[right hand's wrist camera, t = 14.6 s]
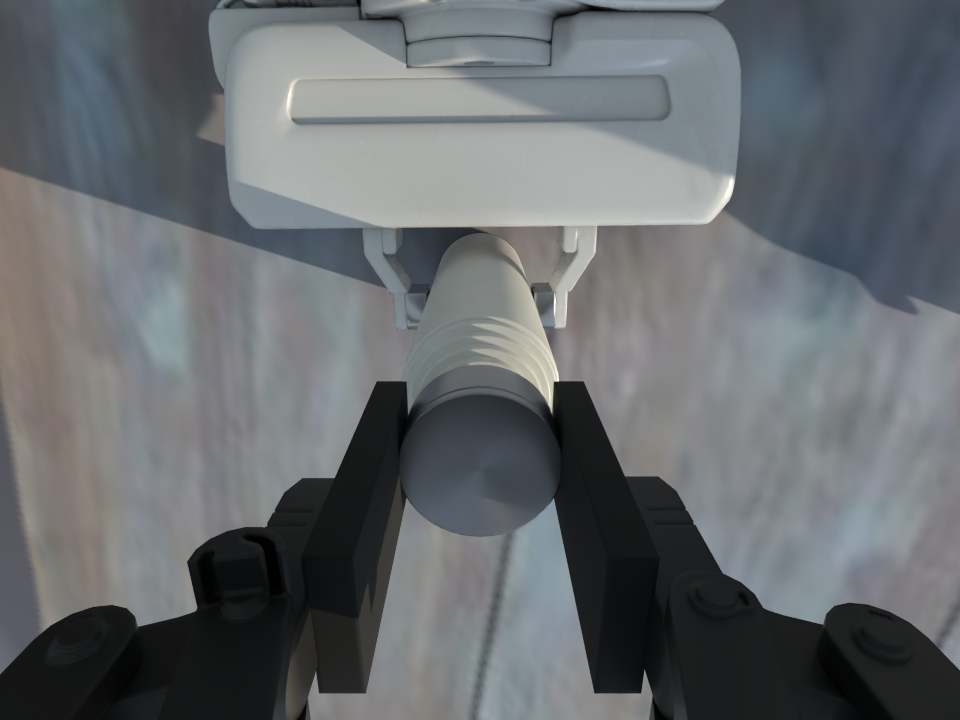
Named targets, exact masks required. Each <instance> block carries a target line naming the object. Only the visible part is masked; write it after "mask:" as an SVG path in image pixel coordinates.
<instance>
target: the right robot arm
mask: <svg viewBox="0 0 960 720" xmlns="http://www.w3.org/2000/svg"><path fill="white" fill-rule="evenodd" d="M552 416H553V420H554V423H555V427H556V431H557V435H558V439H559V443H560V446H561V451H562V462H561V478H560V485H559V488H558V490H557V492H556V495H555V496H554V500H555V505H556V510H557V515H558V520H559V524H560V529H561V534H562V539H563V544H564V549H565V553H566V558H567V563H568V568H569V573H570V577H571V582H572V587H573V592H574V597H575V601H576V606H577V611H578V616H579V621H580V626H581V630H582V635H583V640H584V645H585V650H586V654H587V659H588V664H589V669H590V674H591V679H592V683H593V688H594V693H641V690H642V683H643V676H644V669H645V672H646V675H647V678H648V681H649V684H650V688H651V691H652V694H653V698H652V704H651V711H650V718H649V720H960V670H959V669H958V668H957V667H956V666H955V665H954V664H953V663H952V662H951V661H950V660H949V659H948V658H947V657H946V656H945V655H944V654H943V653H942V652H941V651H940V650H939V649H938V648H937V647H936V646H935V644H934V643H933V642H932V641H931V640H930V639H929V638H928V637H927V636H925V635H924V634H923V633H922V632H920V631H919V630H918V629H917V628H916V627H914V626H913V625H912V624H911V623H909V622H907V621H905V620H904V619H902V618H900V617H898V616H896V615H894V614H893V613H891V612H889V611H886V610H883V609H880V608H876V607H873V606H870V605H866V604H856V603H846V604H841V605H837V606H834V607H833V608H832V609H831V610H830V611H829V612H828V613H827V614H826V617H825V620H824V624H823V625H822V624H817V623H813V622H809V621H805V620H801V619H796V618H792V617H788V616H784V615H781V614H778V613H774V612H771V611H768V610H766V609H764V608H763V607H762V605H761V604H760V602H759V601H758V599H757V597H756V596H755V594H754V593H753V592H752V591H750V590H749V589H748V588H747V587H746V586H744V585H743V584H742V583H741V582H739V581H737V580H735V579H733V578H731V577H729V576H727V575H725V574H723V573H722V571H721V570H720V568H719V566H718V564H717V562H716V561H715V559H714V557H713V555H712V554H711V552H710V550H709V548H708V546H707V545H706V543H705V541H704V539H703V538H702V536H701V534H700V532H699V531H698V529H697V527H696V525H694V524H693V520H692V518H691V516H690V515H689V513H688V511H686V509H685V508H686V507H685V506H684V504H683V502H682V500H681V499H680V497H679V495H678V493H677V492H676V490H674V489H673V488H672V487H671V486H669V485H668V484H667V483H666V482H664V481H663V480H662V479H660V478H659V477H625V476H624V474H623V471H622V469H621V467H620V464H619V462H618V460H617V457H616V455H615V453H614V451H613V448H612V446H611V444H610V441H609V439H608V437H607V434H606V432H605V430H604V427H603V425H602V423H601V421H600V418H599V416H598V414H597V411H596V409H595V407H594V404H593V402H592V400H591V397H590V395H589V393H588V391H587V388H586V386H585V384H584V381H554V385H553V405H552ZM407 419H408V398H407V381H377V382H376V385H375V387H374V389H373V391H372V394H371V396H370V398H369V401H368V403H367V405H366V408H365V410H364V412H363V415H362V417H361V419H360V421H359V424H358V426H357V428H356V431H355V433H354V435H353V438H352V440H351V442H350V444H349V447H348V449H347V451H346V454H345V456H344V458H343V461H342V463H341V465H340V468H339V470H338V472H337V474H336V477H335V478H302V479H301V480H300V481H299V482H297V483H296V484H295V485H293V486H292V487H291V488H290V489H288V490H287V491H286V492H285V493H284V494H283V496H282V498H281V500H280V502H279V503H278V505H277V507H276V509H275V513H273V514H272V516H271V518H270V519H269V521H268V523H267V527H265V528H263V527H244V528H240V529H235V530H231V531H227V532H225V533H222V534H220V535H218V536H216V537H213V538H211V539H209V540H208V541H207V542H205V543H204V544H203V545H201V546H200V547H199V548H197V549H196V550H195V552H194V553H193V554H192V556H191V557H190V559H189V560H188V561H187V563H188V568H189V572H190V577H191V581H192V585H193V590H194V594H195V599H196V603H197V607H198V608H197V611H195V612H193V613H190V614H187V615H184V616H181V617H178V618H173V619H169V620H165V621H161V622H157V623H153V624H149V625H144V626H140V627H138V626H137V622H136V619H135V616H134V615H133V614H132V613H131V612H130V611H129V610H128V609H127V608H123V607H119V606H114V605H108V606H98V607H92V608H89V609H86V610H83V611H80V612H77V613H74V614H71V615H69V616H67V617H66V618H64V619H62V620H60V621H58V622H56V623H55V624H53V625H51V626H50V627H49V628H47V629H46V630H45V631H44V632H43V633H41V634H40V635H39V636H38V637H37V638H35V639H34V640H33V641H32V642H31V643H30V644H29V645H28V646H27V647H26V648H25V649H24V651H22V653H21V654H20V655H19V656H18V657H17V658H16V659H15V660H14V661H13V662H12V663H11V664H10V665H9V666H8V667H7V668H6V669H5V670H4V671H3V672H2V673H1V674H0V720H311V719H310V711H309V704H308V695H309V692H310V688H311V685H312V682H313V679H314V676H315V672H316V673H317V680H318V688H319V693H366V690H367V685H368V680H369V675H370V671H371V666H372V661H373V656H374V651H375V647H376V642H377V637H378V632H379V627H380V622H381V618H382V613H383V608H384V603H385V598H386V594H387V589H388V584H389V579H390V574H391V569H392V565H393V560H394V555H395V550H396V545H397V541H398V536H399V531H400V526H401V521H402V516H403V512H404V507H405V502H406V495H405V493H404V491H403V489H402V486H401V483H400V472H399V449H400V445H401V441H402V437H403V434H404V430H405V426H406V422H407Z"/></svg>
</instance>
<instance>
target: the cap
mask: <svg viewBox="0 0 960 720" xmlns="http://www.w3.org/2000/svg"><path fill="white" fill-rule="evenodd" d="M561 462H562V451H561V446H560V443H559V439H558V435H557V431H556V427H555V423H554V420H553V416H552V413H551V410H550V407H549V405H548V403H547V401H546V399H545V398H544V396H543V395H542V394H541V392H540V391H539V390H538V389H537V388H536V387H535V386H534V385H533V384H532V383H531V382H530V381H528V380H527V379H526V378H524V377H522V376H521V375H519V374H517V373H515V372H513V371H511V370H508V369H505V368H502V367H497V366H492V365H469V366H463V367H459V368H456V369H453V370H450V371H448V372H446V373H443V374H441V375H440V376H438V377H437V378H435V379H434V380H432V381H431V382H430V383H429V384H428V385H426V386H425V387H424V389H423V390H422V391H421V392H420V393H419V395H418V396H417V397H416V399H415V400H414V403H413V405H412V407H411V409H410V412H409V415H408V419H407V422H406V426H405V430H404V434H403V437H402V441H401V445H400V449H399V472H400V483H401V486H402V489H403V491H404V493H405V495H406V497H407V498H408V500H409V501H410V503H411V504H412V506H413V507H414V508H415V509H416V510H417V511H418V512H419V513H420V514H421V515H422V516H423V517H424V518H426V519H427V520H428V521H430V522H431V523H433V524H435V525H437V526H438V527H440V528H442V529H445V530H447V531H450V532H453V533H457V534H461V535H467V536H479V537H482V536H494V535H500V534H504V533H507V532H511V531H513V530H516V529H518V528H521V527H522V526H524V525H526V524H528V523H529V522H531V521H532V520H534V519H535V518H536V517H538V516H539V515H540V514H541V513H542V512H543V511H544V510H545V509H546V508H547V506H548V505H549V504H550V503H551V501H552V499H553V498H554V496H555V495H556V492H557V490H558V488H559V485H560V478H561Z"/></svg>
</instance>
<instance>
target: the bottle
mask: <svg viewBox="0 0 960 720" xmlns="http://www.w3.org/2000/svg"><path fill="white" fill-rule="evenodd" d="M469 365H492V366H497V367H502V368H505V369H508V370H511V371H513V372H515V373H517V374H519V375H521V376H522V377H524V378H526V379H527V380H528V381H530V382H531V383H532V384H533V385H534V386H535V387H536V388H537V389H538V390H539V391H540V392H541V394H542V395H543V396H544V398H545V399H546V401H547V403H548V405H549V407H550V410H551V413H552V405H553V385H554V381H559V376H558V372H557V368H556V364H555V361H554V358H553V355H552V352H551V349H550V347H549V344H548V341H547V338H546V335H545V332H544V329H543V326H542V323H541V320H540V317H539V314H538V311H537V308H536V305H535V302H534V300H533V297H532V294H531V291H530V288H529V285H528V282H527V279H526V276H525V273H524V270H523V267H522V264H521V261H520V259H519V257H518V255H517V253H516V251H515V250H514V249H513V248H512V247H511V246H510V245H509V244H508V243H507V242H506V241H504V240H503V239H501V238H499V237H497V236H494V235H491V234H486V233H475V234H470V235H466V236H464V237H462V238H460V239H458V240H456V241H455V242H454V243H453V244H451V245H450V246H449V248H448V249H447V250H446V251H445V253H444V255H443V257H442V259H441V261H440V264H439V267H438V270H437V273H436V276H435V279H434V282H433V285H432V287H431V290H430V293H429V296H428V299H427V302H426V305H425V308H424V311H423V314H422V317H421V320H420V323H419V326H418V328H417V331H416V334H415V337H414V340H413V343H412V346H411V349H410V352H409V355H408V358H407V361H406V364H405V366H404V370H403V375H402V381H407V398H408V415H409V412H410V409H411V407H412V405H413V403H414V400H415V399H416V397H417V396H418V395H419V393H420V392H421V391H422V390H423V389H424V387H425V386H426V385H428V384H429V383H430V382H431V381H432V380H434V379H435V378H437V377H438V376H440V375H441V374H443V373H446V372H448V371H450V370H453V369H456V368H459V367H463V366H469Z"/></svg>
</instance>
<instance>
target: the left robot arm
mask: <svg viewBox="0 0 960 720" xmlns="http://www.w3.org/2000/svg"><path fill="white" fill-rule="evenodd" d="M239 1H241V0H219V1H218V2H217V4H216V5H215V7H214V9H213V11H212V12H211V14H210V17H209V25H208V26H209V37H210V44H211V50H212V57H213V63H214V69H215V73H216V75H217V78H218V81H219V83H220V85H221V87H222V89H223V90H224V141H225V157H226V170H227V180H228V189H229V196H230V200H231V203H232V205H233V207H234V208H235V209H236V210H237V211H238V213H239V214H240V215H241V216H242V217H243V218H244V219H245V220H246V221H247V222H248V223H249V224H250V225H251V226H252V227H253V228H256V229H323V228H362V232H363V244H364V255H365V257H366V258H367V260H368V261H369V263H370V264H371V265H372V267H373V268H374V270H375V271H376V273H377V274H378V276H379V277H380V279H381V280H382V282H383V283H384V284H385V286H386V287H387V289H388V290H389V292H390V293H393V297H394V311H395V325H396V329H397V330H408V329H417V328H418V326H419V323H420V320H421V317H422V314H423V311H424V308H425V305H426V302H427V299H428V296H429V293H430V284H412V282H411V280H410V278H409V277H408V275H407V273H406V272H405V270H404V269H403V267H402V265H401V264H400V262H399V260H398V259H397V257H396V256H395V253H396V252H397V250H398V249H399V248H400V247H401V245H402V244H403V235H402V228H418V227H513V226H557V243H558V244H559V245H560V247H561V248H562V249H563V250H564V251H565V254H564V256H563V257H562V259H561V261H560V262H559V264H558V266H557V267H556V269H555V271H554V272H553V274H552V276H551V277H550V279H549V281H548V282H549V283H531V294H532V297H533V300H534V302H535V305H536V308H537V311H538V314H539V317H540V320H541V323H542V326H543V328H565V324H566V310H567V291H571V289H572V288H573V286H574V285H575V283H576V282H577V280H578V279H579V277H580V276H581V274H582V273H583V271H584V270H585V268H586V267H587V265H588V264H589V262H590V260H591V259H592V257H593V256H594V254H595V251H596V236H597V226H608V225H698V224H707V223H709V222H711V221H712V220H713V219H714V218H715V217H716V216H717V214H718V213H719V212H720V211H721V210H722V209H723V207H724V206H725V205H726V204H727V203H728V202H729V200H730V198H731V196H732V193H733V188H734V183H735V177H736V169H737V161H738V151H739V139H740V122H741V66H740V59H739V54H738V50H737V47H736V44H735V41H734V39H733V37H732V35H731V34H730V32H729V31H728V30H727V28H726V27H725V26H724V25H723V24H722V23H720V22H719V21H718V20H716V19H715V18H713V17H711V16H708V15H707V14H709V13H710V12H712V11H713V10H714V9H716V8H717V7H718V6H719V5H720V4H722V3H723V2H724V1H725V0H242V1H243V3H244V5H245V6H246V7H248V8H233V9H229V8H230V7H231V6H232V5H233V4H235V3H237V2H239ZM292 6H293V7H302V8H282V7H292ZM306 7H307V8H306ZM360 8H361V9H360Z"/></svg>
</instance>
